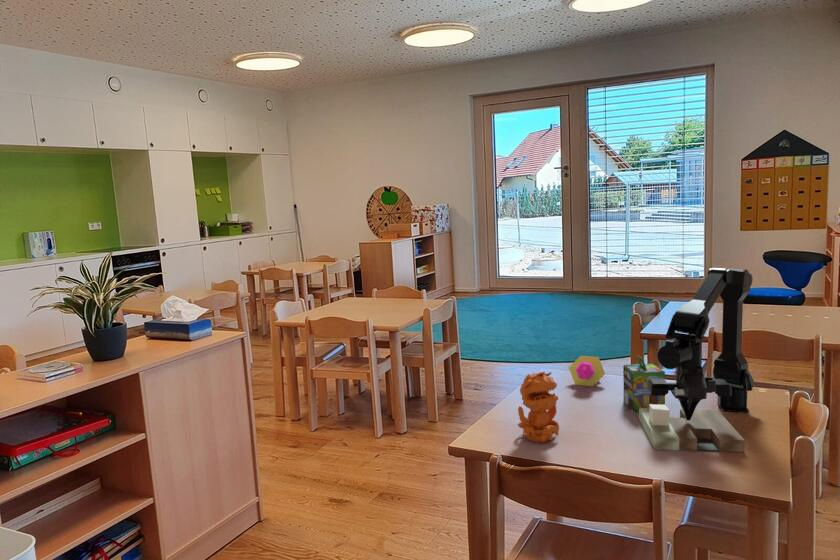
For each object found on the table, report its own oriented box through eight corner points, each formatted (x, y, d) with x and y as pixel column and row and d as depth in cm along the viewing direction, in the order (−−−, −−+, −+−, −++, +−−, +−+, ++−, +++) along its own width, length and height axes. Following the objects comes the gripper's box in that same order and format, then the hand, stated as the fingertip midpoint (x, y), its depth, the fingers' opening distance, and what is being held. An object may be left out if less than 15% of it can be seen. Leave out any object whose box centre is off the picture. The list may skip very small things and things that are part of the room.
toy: (610, 380, 201) (597, 351, 204) (606, 380, 184) (593, 349, 187) (581, 390, 203) (569, 361, 206) (575, 392, 187) (562, 360, 190)
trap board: (717, 420, 161) (717, 409, 161) (744, 452, 141) (744, 440, 141) (639, 418, 164) (639, 408, 164) (654, 449, 145) (654, 437, 144)
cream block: (665, 419, 155) (665, 404, 155) (669, 425, 151) (669, 410, 151) (649, 419, 156) (649, 404, 155) (652, 425, 152) (652, 409, 152)
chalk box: (665, 411, 169) (666, 360, 167) (632, 412, 169) (633, 361, 167) (653, 400, 178) (654, 351, 176) (622, 401, 178) (622, 352, 176)
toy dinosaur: (535, 450, 147) (534, 379, 144) (509, 435, 157) (508, 368, 154) (571, 440, 152) (570, 371, 149) (543, 426, 162) (542, 361, 159)
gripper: (656, 369, 144) (655, 431, 146) (740, 369, 141) (738, 433, 143) (647, 356, 155) (646, 414, 157) (725, 356, 152) (723, 416, 154)
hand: (687, 419), depth 153 cm, fingers closed
